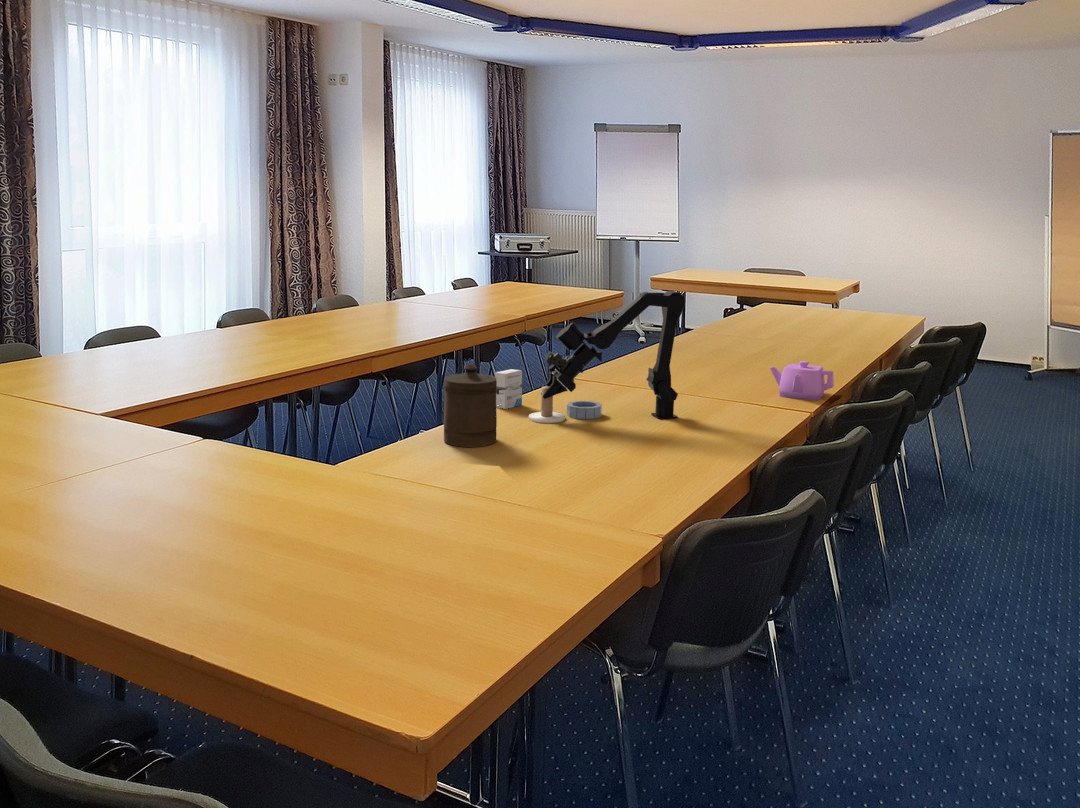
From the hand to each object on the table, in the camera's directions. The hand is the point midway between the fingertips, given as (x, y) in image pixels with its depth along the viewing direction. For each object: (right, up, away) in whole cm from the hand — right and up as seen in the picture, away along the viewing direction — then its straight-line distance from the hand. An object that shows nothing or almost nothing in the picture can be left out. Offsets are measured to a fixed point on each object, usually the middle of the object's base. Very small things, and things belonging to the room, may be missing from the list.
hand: (542, 396), depth 295 cm
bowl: (+13, -6, +7) cm, 16 cm away
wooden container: (-21, -13, -25) cm, 35 cm away
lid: (+1, -7, +2) cm, 7 cm away
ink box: (-11, -3, +18) cm, 22 cm away
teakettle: (+91, 0, +41) cm, 99 cm away
